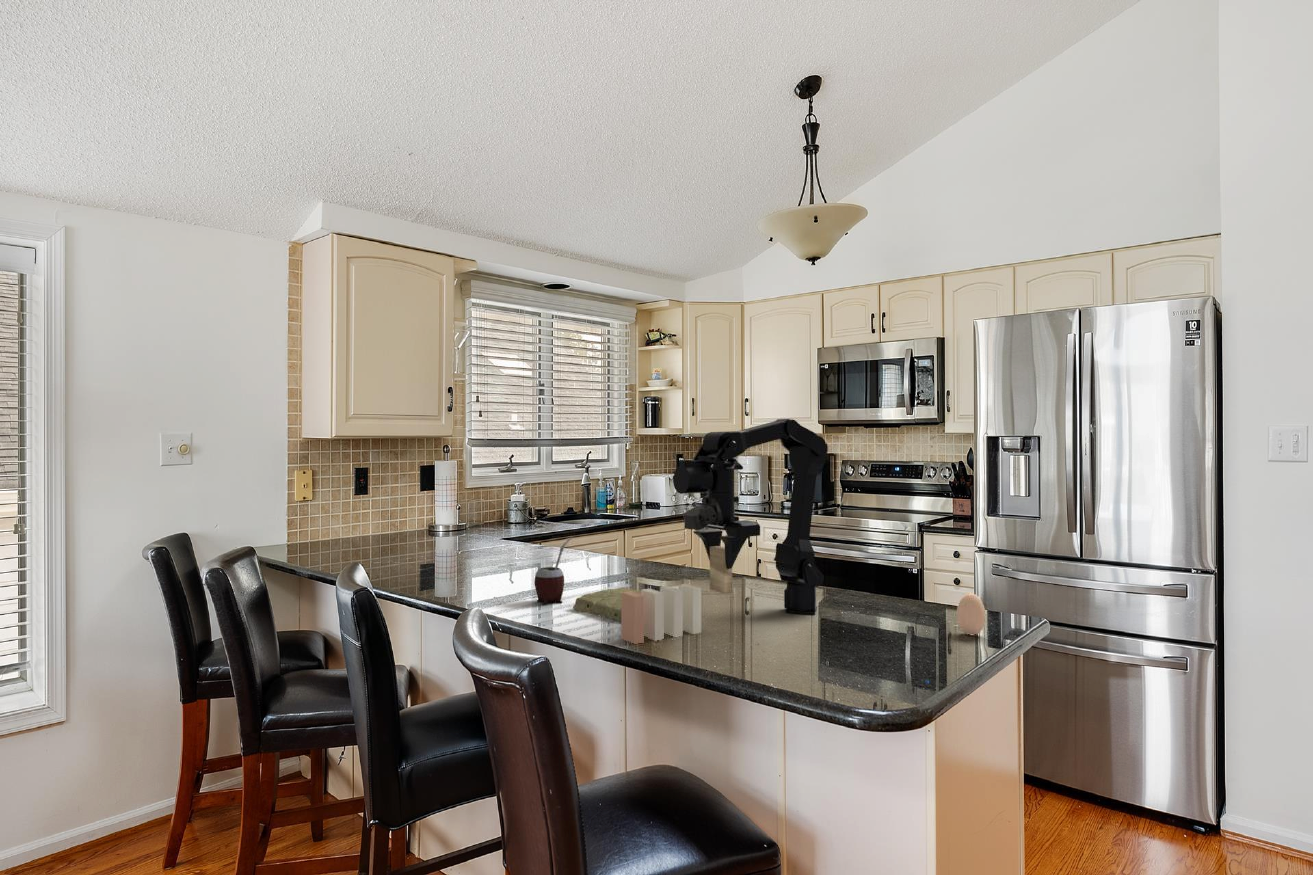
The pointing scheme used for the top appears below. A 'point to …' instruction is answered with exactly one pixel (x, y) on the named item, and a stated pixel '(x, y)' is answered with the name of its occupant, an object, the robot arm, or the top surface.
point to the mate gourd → (550, 582)
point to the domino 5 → (719, 571)
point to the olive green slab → (603, 603)
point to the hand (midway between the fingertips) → (721, 566)
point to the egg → (971, 614)
